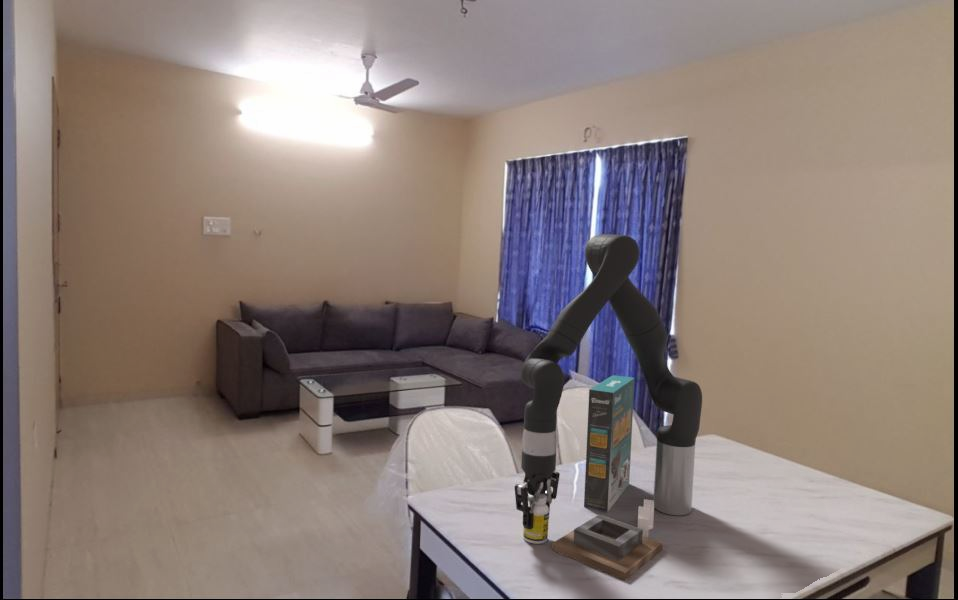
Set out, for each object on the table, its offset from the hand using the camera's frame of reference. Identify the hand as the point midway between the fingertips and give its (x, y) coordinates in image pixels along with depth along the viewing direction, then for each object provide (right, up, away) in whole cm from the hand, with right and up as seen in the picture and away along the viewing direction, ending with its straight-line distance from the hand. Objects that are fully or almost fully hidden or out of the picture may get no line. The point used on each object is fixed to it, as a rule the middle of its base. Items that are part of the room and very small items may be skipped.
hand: (536, 523), depth 131 cm
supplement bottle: (0, -4, 0) cm, 4 cm away
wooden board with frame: (+15, -4, -4) cm, 16 cm away
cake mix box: (+22, -3, +26) cm, 34 cm away
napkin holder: (+27, -5, +7) cm, 28 cm away
